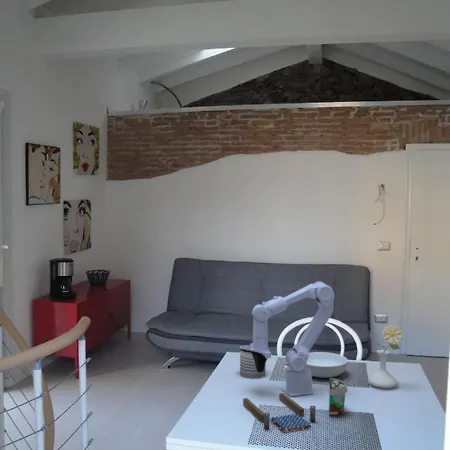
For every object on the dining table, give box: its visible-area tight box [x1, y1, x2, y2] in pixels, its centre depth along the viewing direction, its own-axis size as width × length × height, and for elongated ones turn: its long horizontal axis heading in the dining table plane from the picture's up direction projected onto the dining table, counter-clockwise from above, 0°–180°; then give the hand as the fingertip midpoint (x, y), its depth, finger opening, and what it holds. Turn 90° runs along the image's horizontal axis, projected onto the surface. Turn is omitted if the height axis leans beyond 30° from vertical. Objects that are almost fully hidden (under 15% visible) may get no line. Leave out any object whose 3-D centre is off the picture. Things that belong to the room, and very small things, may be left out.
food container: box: [328, 377, 348, 418], centre depth 185 cm, size 12×6×10 cm, turn 168°
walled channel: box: [242, 392, 305, 424], centre depth 186 cm, size 16×16×2 cm
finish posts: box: [263, 405, 316, 431], centre depth 174 cm, size 19×2×5 cm, turn 111°
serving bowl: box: [305, 351, 349, 379], centre depth 225 cm, size 21×21×7 cm
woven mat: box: [270, 413, 312, 433], centre depth 174 cm, size 10×11×2 cm
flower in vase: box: [367, 324, 404, 389], centre depth 211 cm, size 13×11×25 cm
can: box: [239, 344, 267, 380], centre depth 225 cm, size 11×11×12 cm
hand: (260, 371), depth 202 cm, fingers closed
